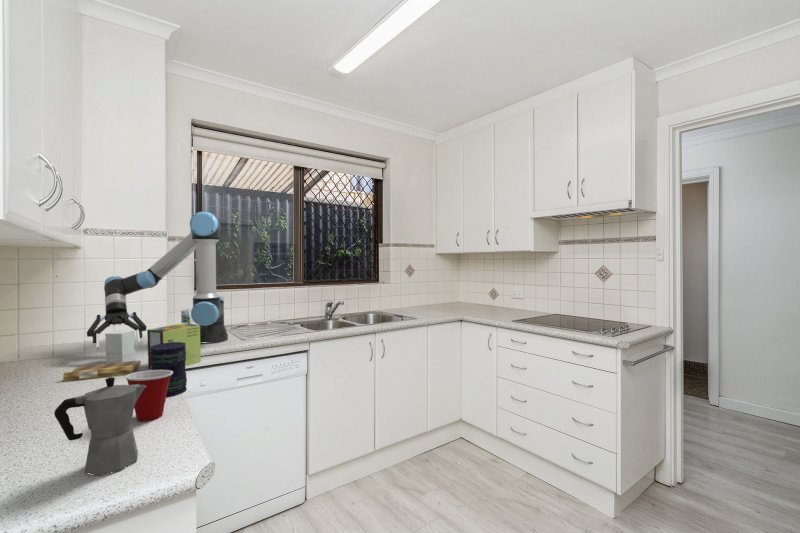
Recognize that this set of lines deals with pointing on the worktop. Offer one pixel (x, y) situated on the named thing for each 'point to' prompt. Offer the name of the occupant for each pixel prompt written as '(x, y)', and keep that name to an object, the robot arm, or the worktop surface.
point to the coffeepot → (105, 425)
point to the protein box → (177, 340)
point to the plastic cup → (150, 393)
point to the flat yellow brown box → (102, 370)
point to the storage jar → (171, 364)
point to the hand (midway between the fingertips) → (118, 346)
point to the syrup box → (186, 316)
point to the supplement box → (120, 346)
